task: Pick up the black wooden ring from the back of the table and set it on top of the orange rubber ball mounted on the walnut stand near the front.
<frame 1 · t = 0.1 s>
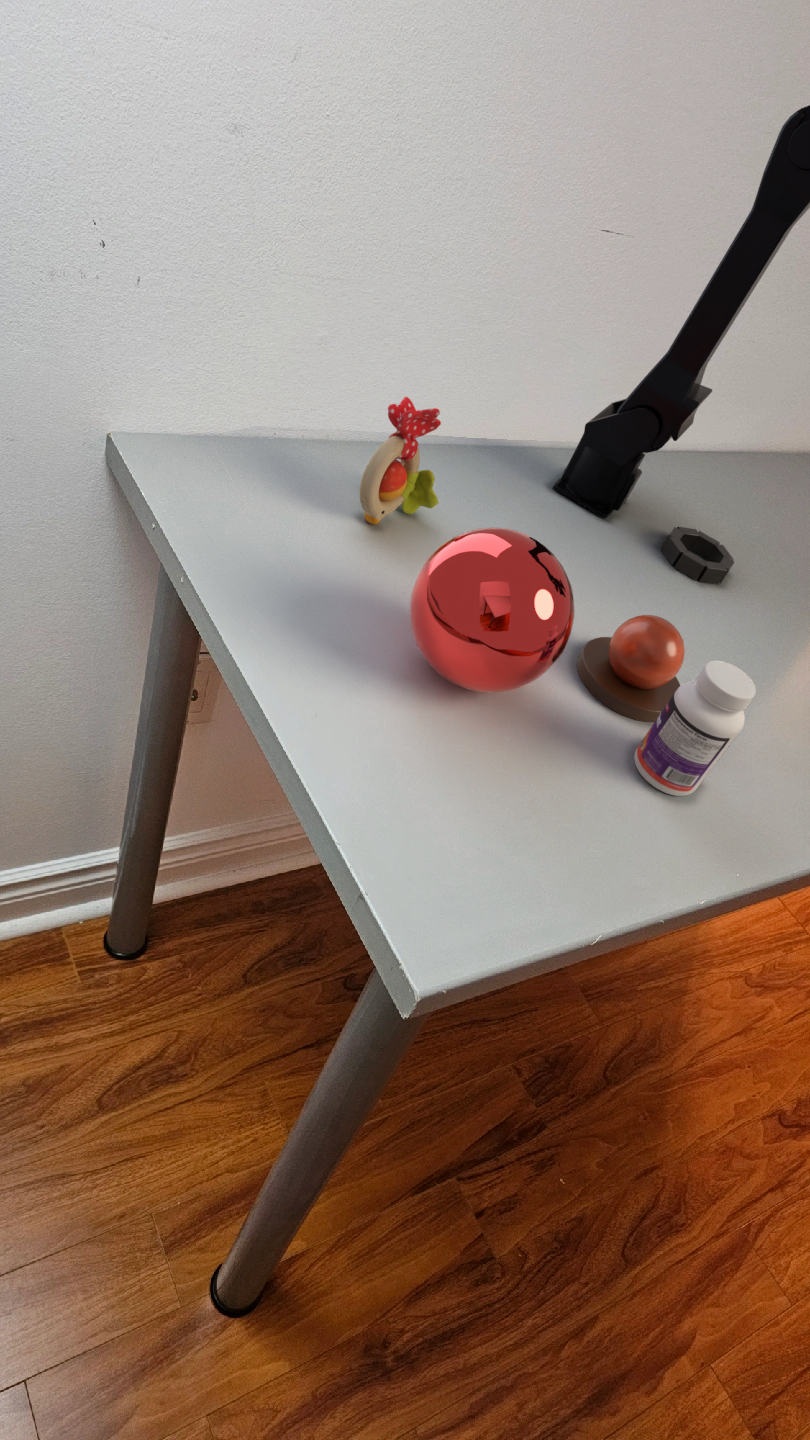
ball stand: (626, 683, 88), on the table
pill bottle: (662, 773, 81), on the table
black ring: (693, 562, 108), on the table
bird rattle: (382, 515, 94), on the table
ball: (460, 672, 81), on the table
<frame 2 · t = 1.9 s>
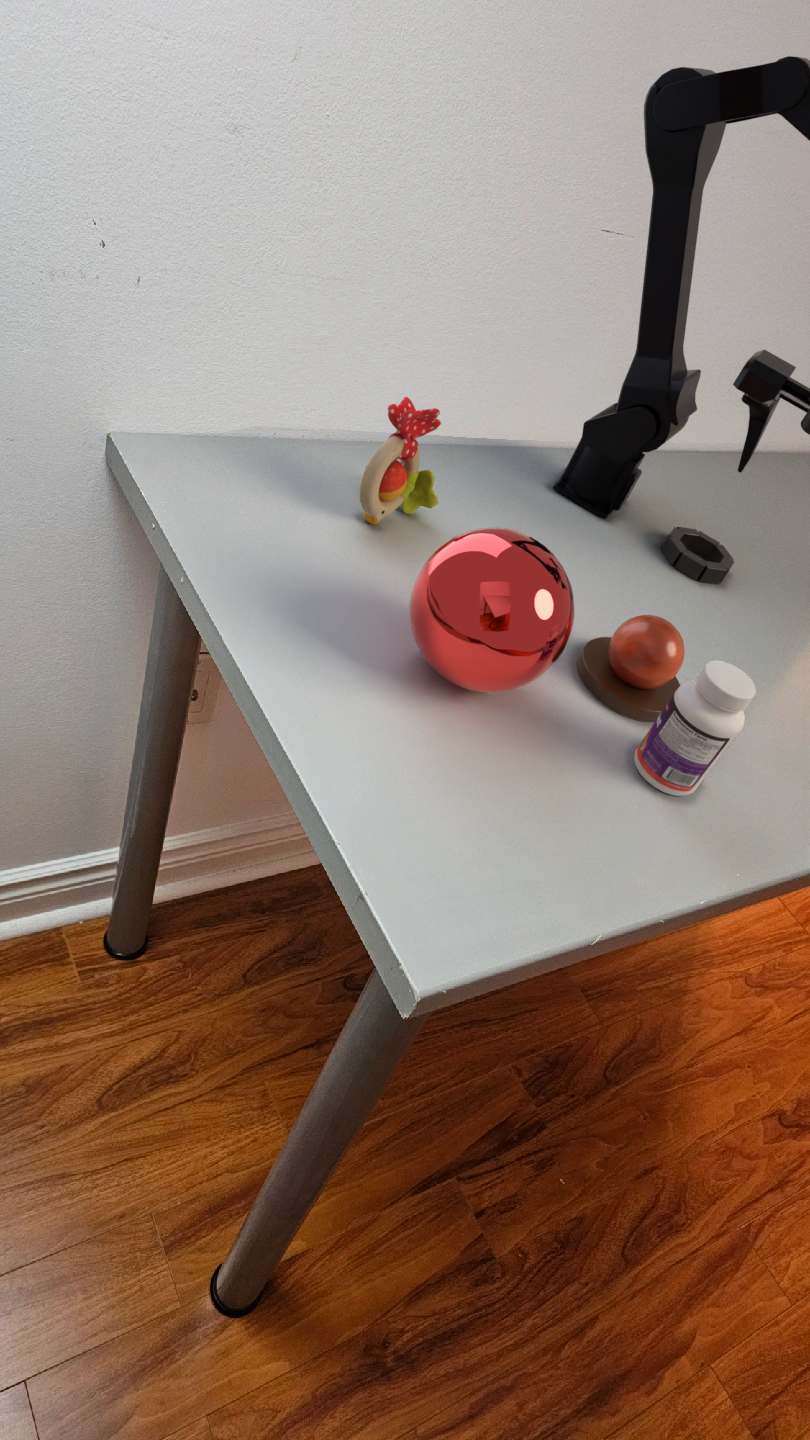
hand: (781, 495, 101), 10 cm above the table, tool pointing down, fingers open, 9 cm apart
nothing on the table moved.
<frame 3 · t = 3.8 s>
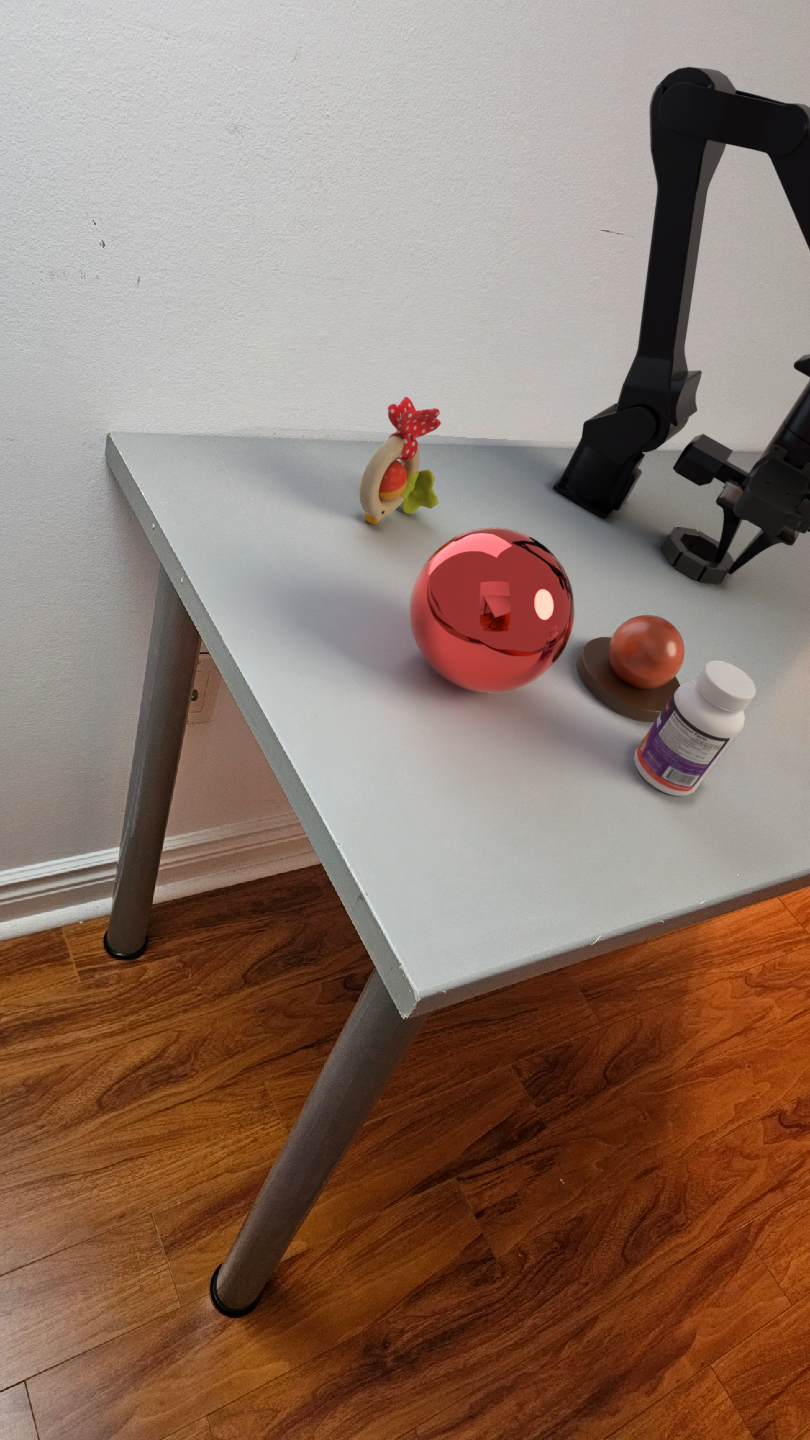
hand: (722, 568, 107), 1 cm above the table, tool pointing down, fingers closed on black ring, 1 cm apart
black ring: (693, 562, 108), on the table, touching gripper
everything else where it was.
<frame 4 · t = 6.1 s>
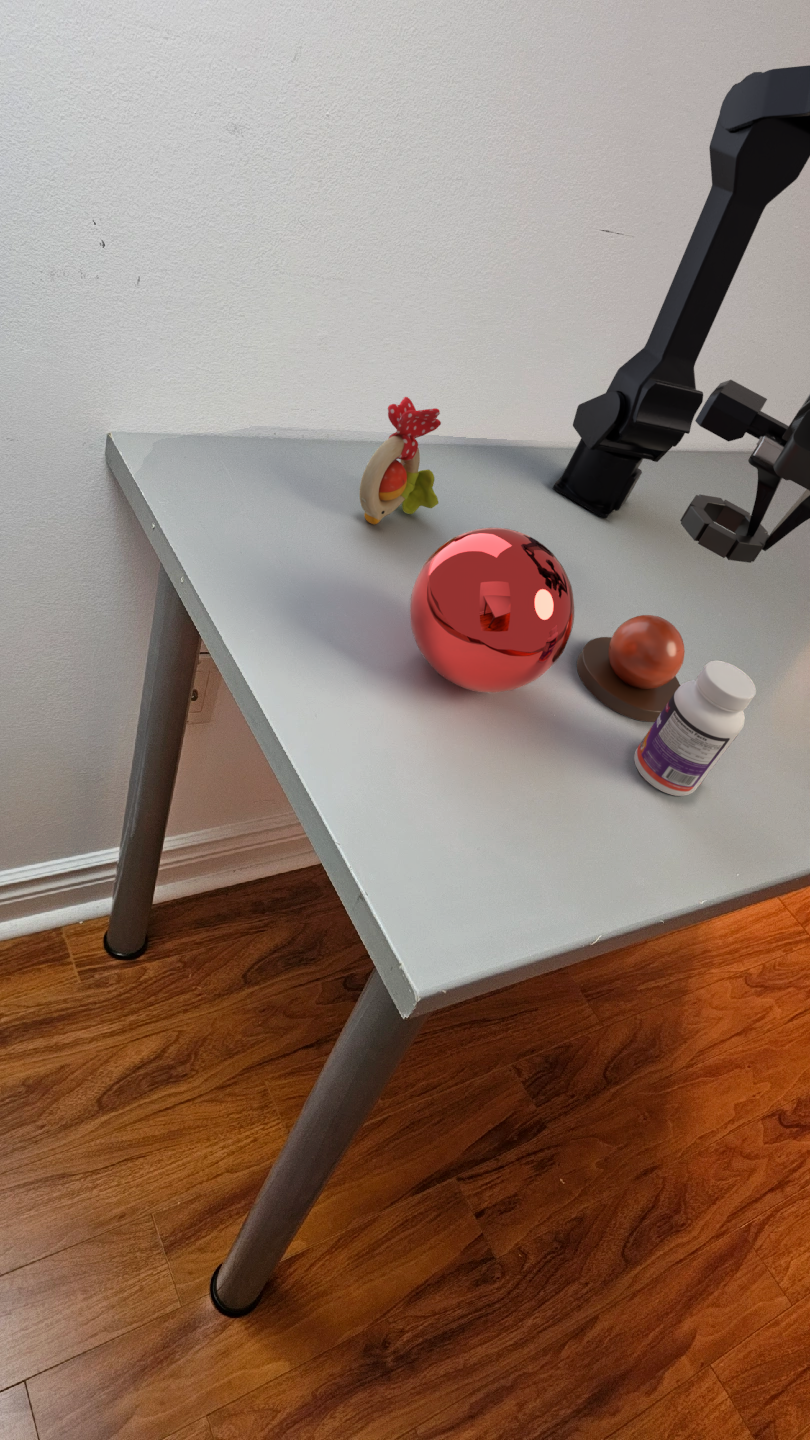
hand: (755, 544, 89), 11 cm above the table, tool pointing down, fingers closed on black ring
black ring: (719, 536, 90), point 10 cm above the table, touching gripper
everything else where it was.
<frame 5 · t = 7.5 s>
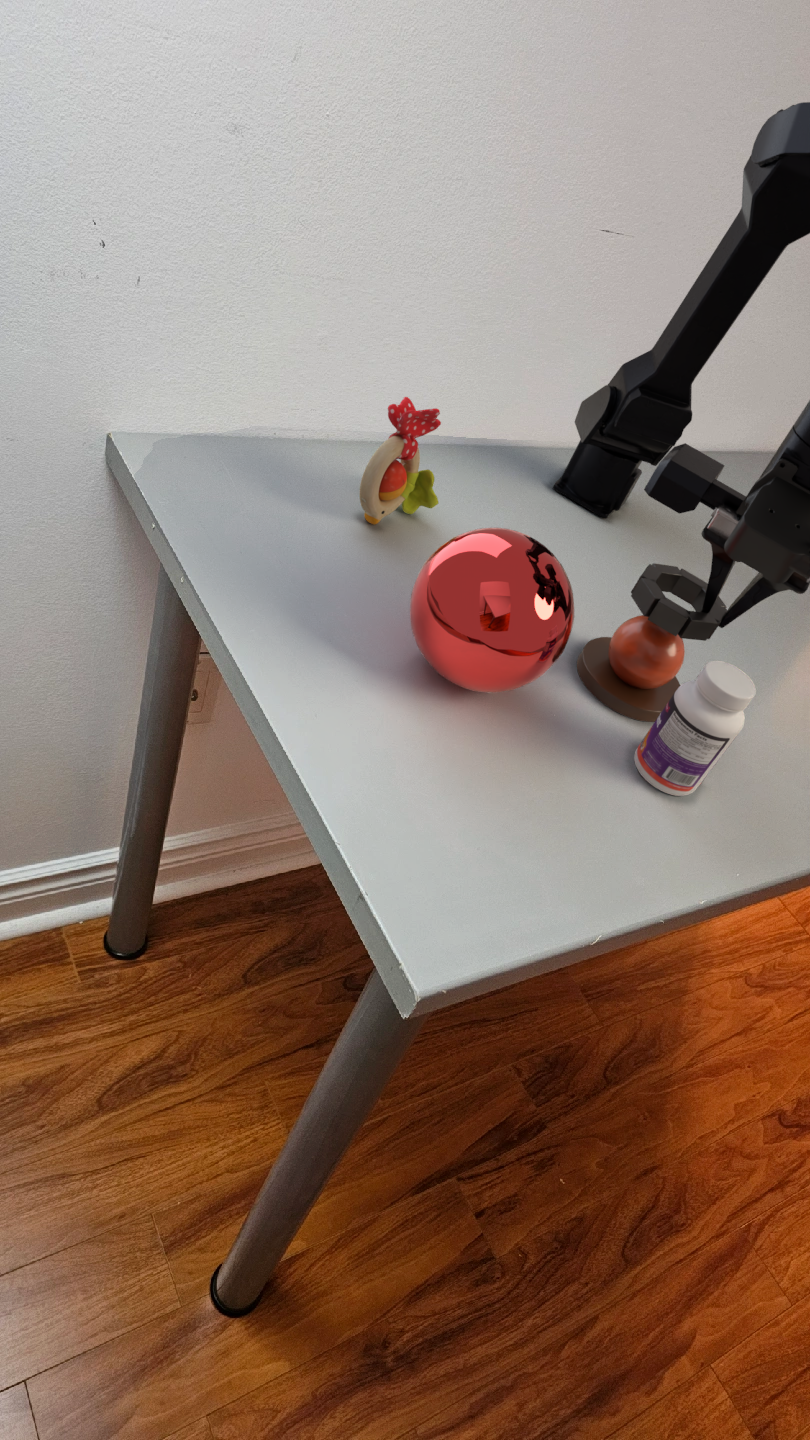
hand: (711, 620, 82), 9 cm above the table, tool pointing down, fingers closed on black ring
black ring: (673, 610, 83), point 8 cm above the table, touching gripper
everything else where it was.
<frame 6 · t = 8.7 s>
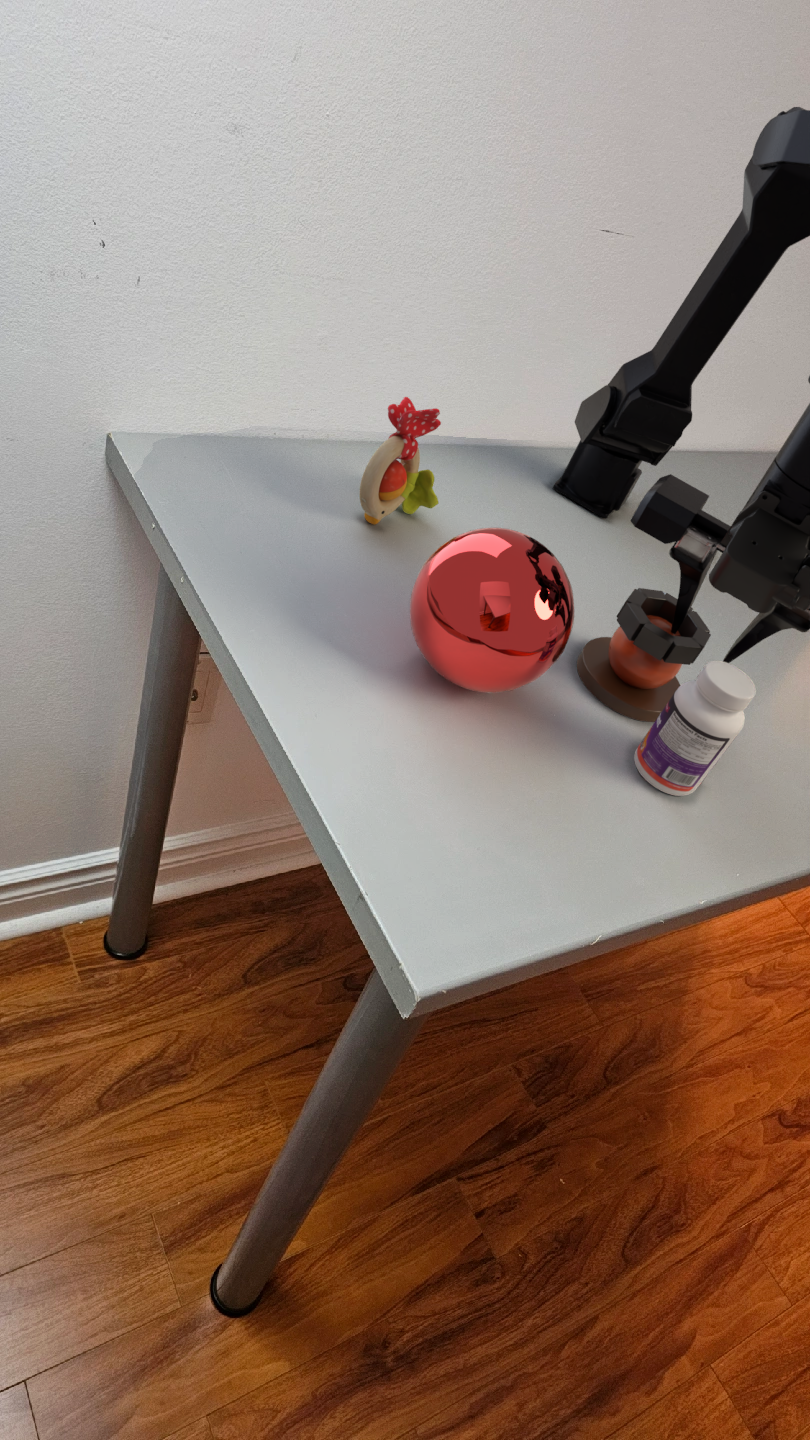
hand: (699, 646, 83), 6 cm above the table, tool pointing down, fingers open, 4 cm apart
black ring: (658, 634, 84), point 5 cm above the table, touching ball stand
everything else where it was.
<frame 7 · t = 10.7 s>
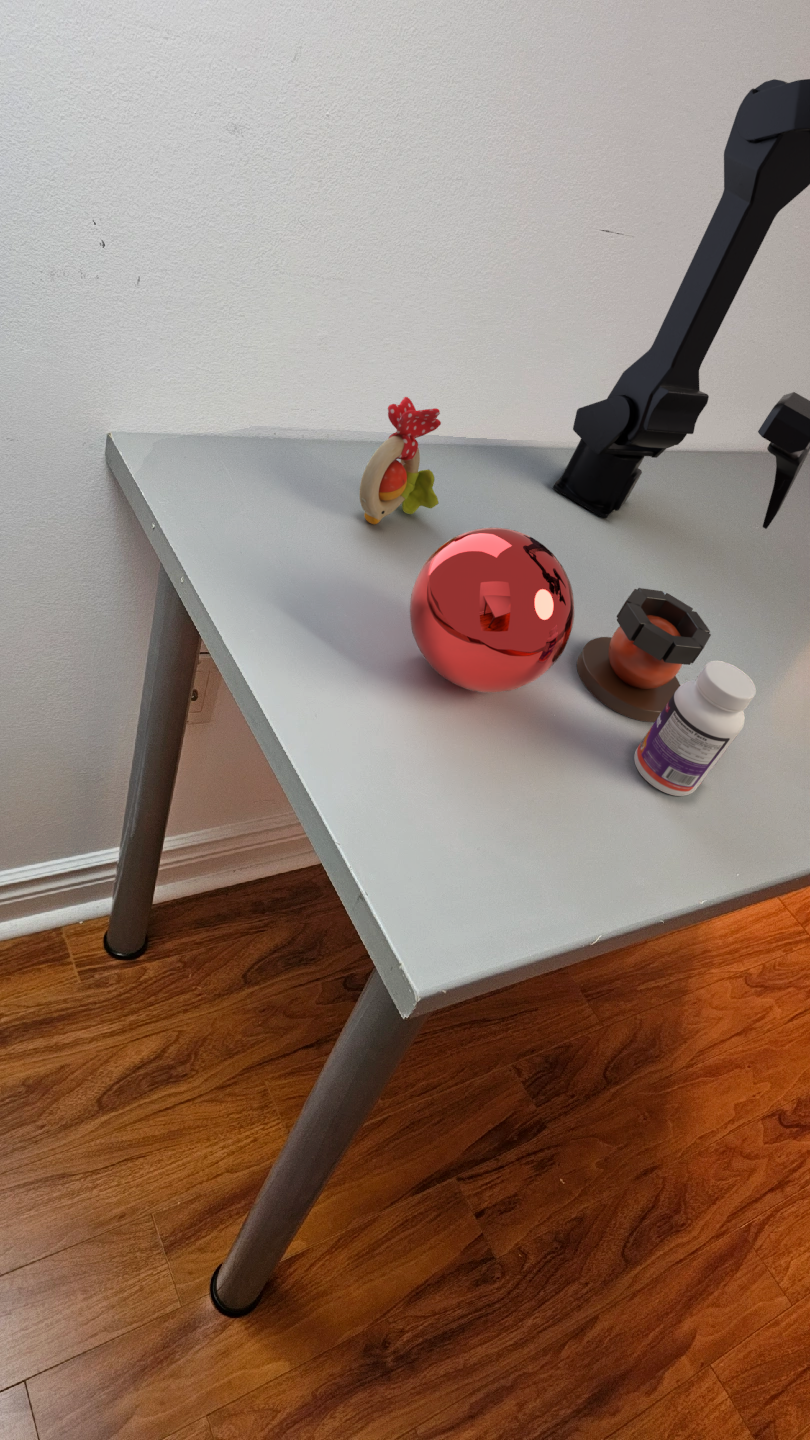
nothing on the table moved.
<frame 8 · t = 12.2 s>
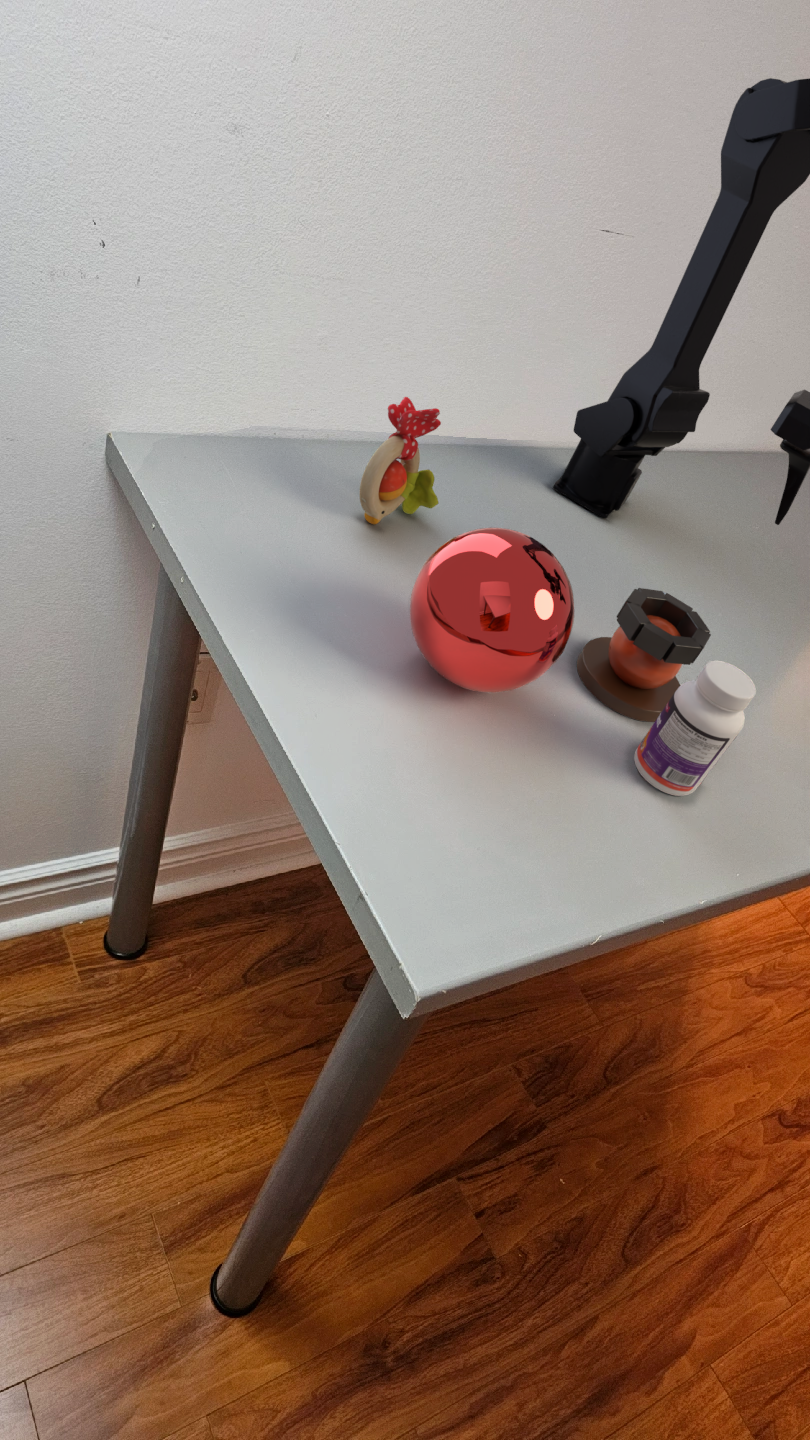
nothing on the table moved.
at the end: black ring 0.0 cm off-centre on the ball stand, point 5.4 cm above the ball stand's base; black ring tilted 1°; the gripper is holding nothing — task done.
